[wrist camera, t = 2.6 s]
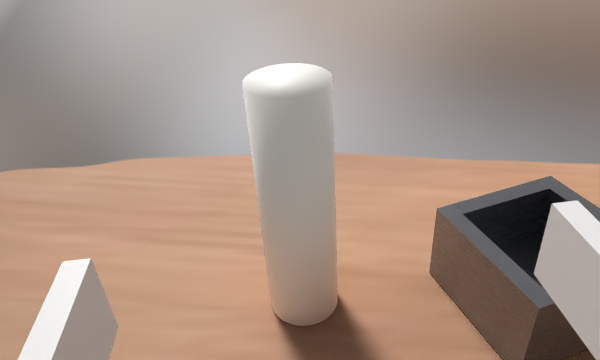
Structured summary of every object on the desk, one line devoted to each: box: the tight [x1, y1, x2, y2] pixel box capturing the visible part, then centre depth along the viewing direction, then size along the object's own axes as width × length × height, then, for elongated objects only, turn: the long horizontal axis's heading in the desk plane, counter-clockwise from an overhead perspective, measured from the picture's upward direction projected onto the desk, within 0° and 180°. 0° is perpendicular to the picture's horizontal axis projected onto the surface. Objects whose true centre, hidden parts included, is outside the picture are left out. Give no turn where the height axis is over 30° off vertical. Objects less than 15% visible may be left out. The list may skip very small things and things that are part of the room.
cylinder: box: [242, 63, 338, 326], centre depth 25 cm, size 4×4×14 cm
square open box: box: [430, 176, 600, 360], centre depth 27 cm, size 8×8×5 cm
